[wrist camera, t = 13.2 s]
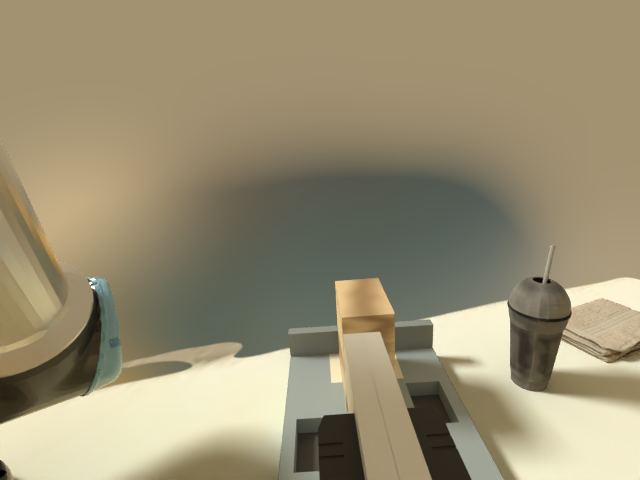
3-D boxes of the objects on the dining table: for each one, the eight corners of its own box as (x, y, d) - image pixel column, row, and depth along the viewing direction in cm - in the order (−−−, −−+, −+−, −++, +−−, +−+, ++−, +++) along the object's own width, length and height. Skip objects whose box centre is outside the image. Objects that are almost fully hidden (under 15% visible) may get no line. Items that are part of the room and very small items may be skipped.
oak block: (346, 410, 44) (341, 317, 40) (339, 360, 53) (335, 281, 49) (394, 407, 44) (394, 313, 40) (379, 357, 53) (377, 278, 49)
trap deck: (267, 635, 26) (257, 578, 24) (292, 364, 57) (289, 328, 55) (562, 617, 26) (575, 558, 24) (428, 355, 57) (430, 319, 55)
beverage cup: (488, 372, 52) (500, 244, 46) (523, 358, 55) (539, 234, 49) (534, 405, 46) (555, 261, 40) (571, 387, 48) (596, 249, 42)
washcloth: (535, 331, 62) (537, 315, 61) (598, 306, 69) (601, 291, 68) (611, 370, 52) (615, 352, 51) (678, 336, 58) (682, 319, 57)
